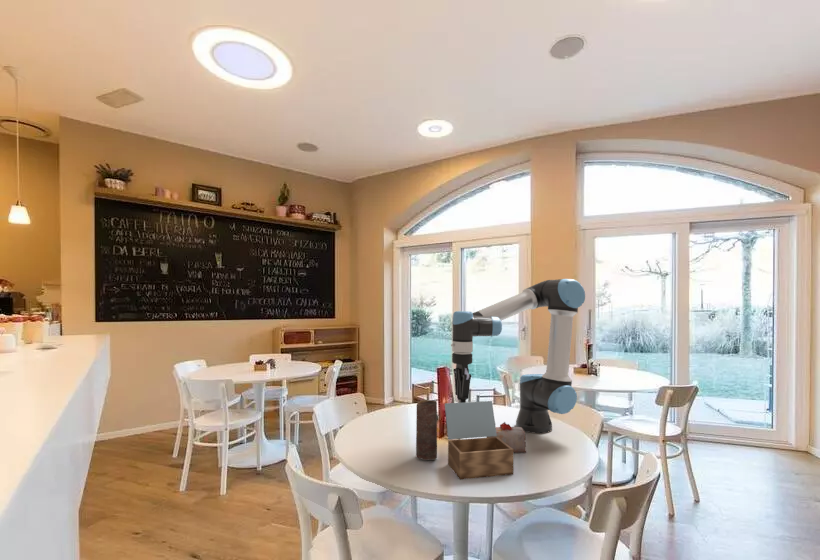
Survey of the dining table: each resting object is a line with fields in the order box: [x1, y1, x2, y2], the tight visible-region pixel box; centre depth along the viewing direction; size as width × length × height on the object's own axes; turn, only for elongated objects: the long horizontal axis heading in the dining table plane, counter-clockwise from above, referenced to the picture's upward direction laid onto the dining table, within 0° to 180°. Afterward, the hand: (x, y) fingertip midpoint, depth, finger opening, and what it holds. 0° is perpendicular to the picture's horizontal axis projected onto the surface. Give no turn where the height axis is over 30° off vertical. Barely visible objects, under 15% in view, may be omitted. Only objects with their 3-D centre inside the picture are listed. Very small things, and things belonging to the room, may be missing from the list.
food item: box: [486, 422, 527, 454], centre depth 153 cm, size 14×8×10 cm, turn 92°
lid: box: [444, 400, 497, 440], centre depth 144 cm, size 18×12×1 cm
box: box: [447, 437, 514, 481], centre depth 136 cm, size 18×12×8 cm, turn 103°
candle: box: [415, 399, 438, 461], centre depth 144 cm, size 8×7×20 cm
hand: (461, 416), depth 153 cm, fingers closed
